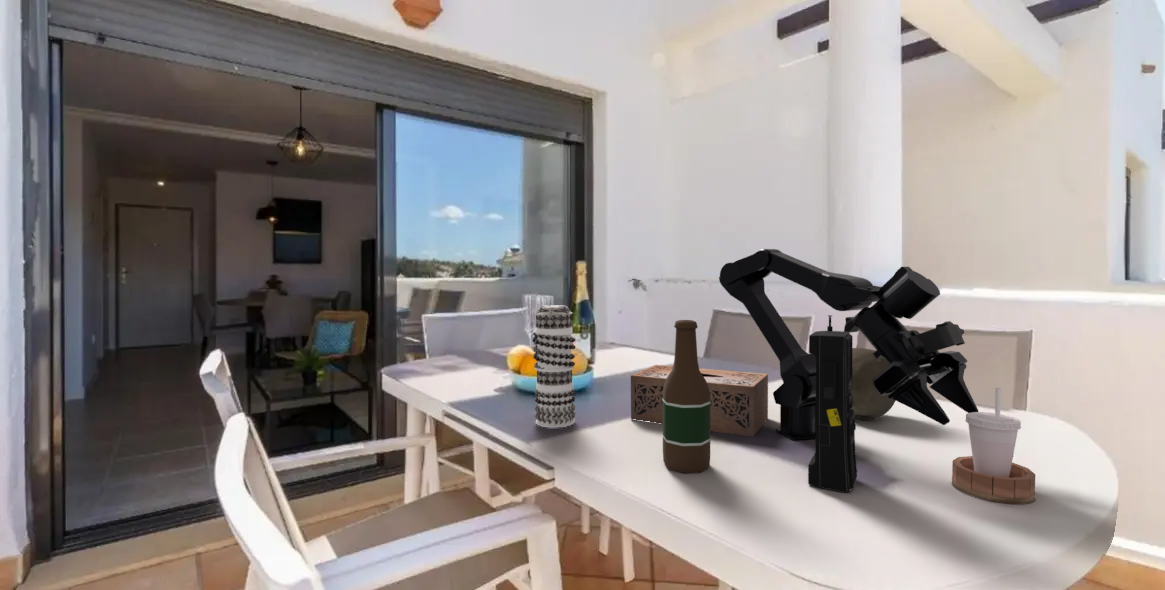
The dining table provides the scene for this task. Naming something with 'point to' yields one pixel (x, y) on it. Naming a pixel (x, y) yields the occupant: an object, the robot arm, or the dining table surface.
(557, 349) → the decorative candle
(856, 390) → the round brown rock
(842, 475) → the portable radio
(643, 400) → the tissue box cover
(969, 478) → the round brown planter pot
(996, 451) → the smoothie
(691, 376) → the beer bottle
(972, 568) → the dining table surface
